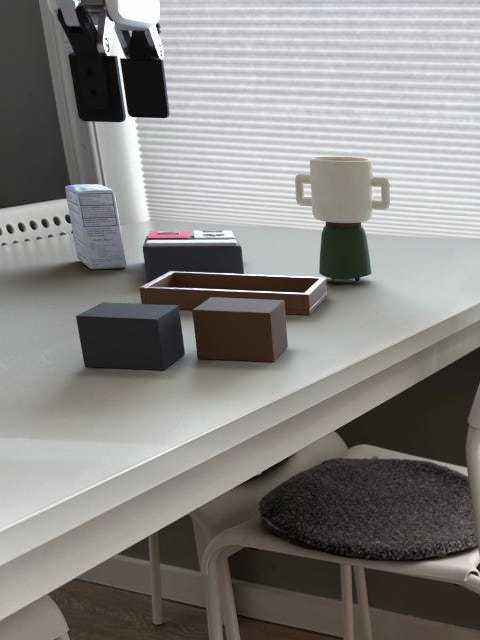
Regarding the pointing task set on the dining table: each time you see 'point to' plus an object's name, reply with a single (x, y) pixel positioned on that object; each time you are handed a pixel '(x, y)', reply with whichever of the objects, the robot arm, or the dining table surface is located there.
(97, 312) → the pad
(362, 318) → the dining table surface
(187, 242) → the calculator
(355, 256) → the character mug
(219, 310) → the pad
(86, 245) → the medicine box
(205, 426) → the dining table surface
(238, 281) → the tray
